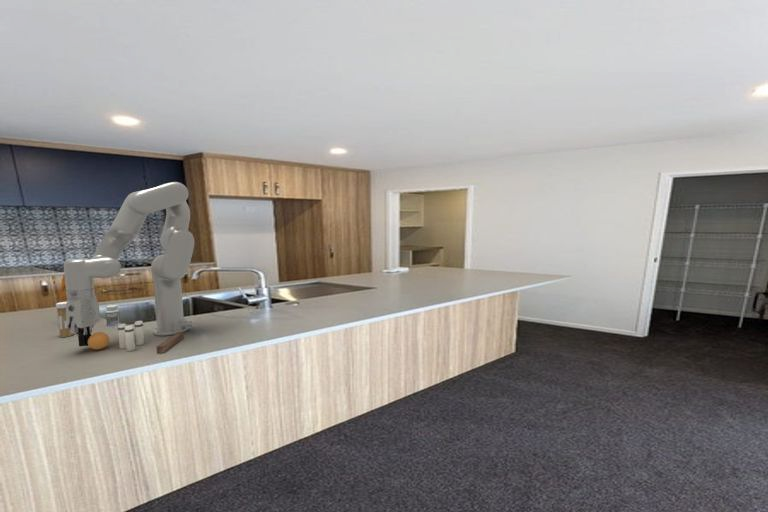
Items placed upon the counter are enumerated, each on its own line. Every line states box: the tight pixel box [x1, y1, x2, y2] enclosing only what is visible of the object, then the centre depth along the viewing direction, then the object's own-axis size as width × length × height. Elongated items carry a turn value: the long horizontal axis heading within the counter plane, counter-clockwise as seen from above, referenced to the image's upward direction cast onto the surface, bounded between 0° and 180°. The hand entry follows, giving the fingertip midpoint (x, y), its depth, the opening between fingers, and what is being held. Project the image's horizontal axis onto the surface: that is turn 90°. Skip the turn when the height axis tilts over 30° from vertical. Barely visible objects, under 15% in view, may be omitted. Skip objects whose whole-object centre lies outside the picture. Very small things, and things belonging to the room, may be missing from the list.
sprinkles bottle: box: [55, 301, 75, 338], centre depth 142 cm, size 5×5×13 cm
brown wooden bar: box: [156, 332, 184, 354], centre depth 130 cm, size 2×16×2 cm, turn 7°
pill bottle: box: [105, 304, 121, 327], centre depth 157 cm, size 5×5×8 cm
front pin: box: [117, 323, 127, 350], centre depth 128 cm, size 3×3×8 cm
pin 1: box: [125, 324, 136, 352], centre depth 125 cm, size 3×3×8 cm
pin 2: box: [134, 320, 145, 346], centre depth 131 cm, size 3×3×8 cm
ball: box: [88, 331, 110, 351], centre depth 127 cm, size 6×6×6 cm
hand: (85, 345), depth 126 cm, fingers closed
